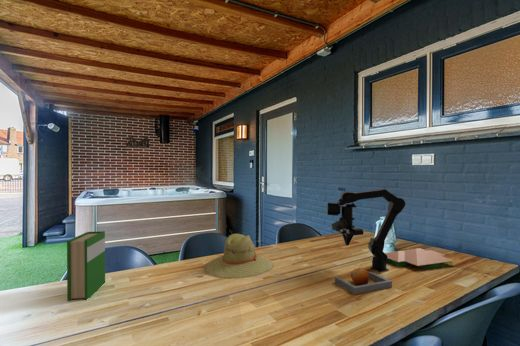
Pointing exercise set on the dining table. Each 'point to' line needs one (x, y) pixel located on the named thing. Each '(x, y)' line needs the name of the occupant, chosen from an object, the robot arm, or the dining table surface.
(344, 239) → the robot arm
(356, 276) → the fruit
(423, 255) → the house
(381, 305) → the dining table surface
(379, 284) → the corral
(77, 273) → the hardback book
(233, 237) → the straw hat
